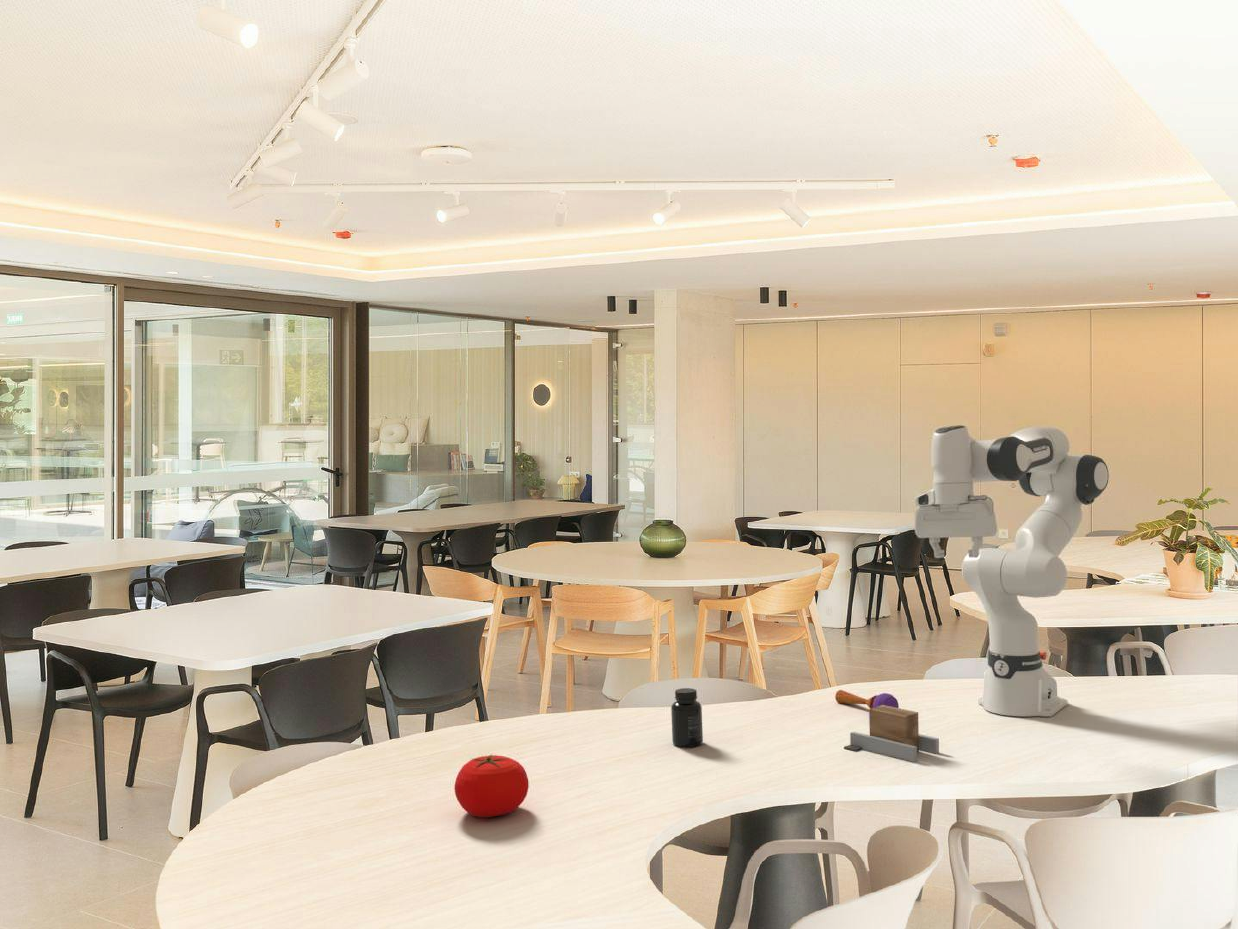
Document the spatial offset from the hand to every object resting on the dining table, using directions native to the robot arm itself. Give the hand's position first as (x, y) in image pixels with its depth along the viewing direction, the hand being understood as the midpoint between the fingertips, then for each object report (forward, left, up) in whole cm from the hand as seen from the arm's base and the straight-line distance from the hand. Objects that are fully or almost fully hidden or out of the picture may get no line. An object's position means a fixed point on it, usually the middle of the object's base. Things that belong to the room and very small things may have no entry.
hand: (956, 557), depth 245 cm
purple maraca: (0, -25, -40) cm, 47 cm away
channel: (+22, -2, -40) cm, 45 cm away
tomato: (+106, -32, -40) cm, 118 cm away
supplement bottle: (+50, -37, -40) cm, 74 cm away
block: (+22, -2, -40) cm, 45 cm away
